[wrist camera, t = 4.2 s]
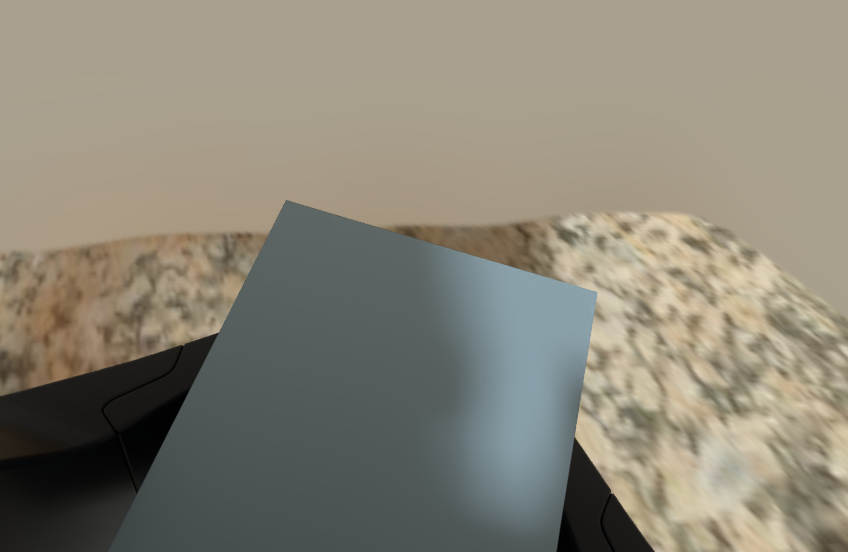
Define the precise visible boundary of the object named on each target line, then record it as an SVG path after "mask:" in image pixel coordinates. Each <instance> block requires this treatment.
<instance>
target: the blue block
mask: <svg viewBox="0 0 848 552" xmlns="http://www.w3.org/2000/svg"><path fill="white" fill-rule="evenodd" d="M596 298H597V292H595V291H591V290H588V289H585V288H581V287H578V286H574V285H571V284H568V283H564V282H561V281H558V280H554V279H551V278H547V277H544V276H541V275H537V274H534V273H530V272H527V271H524V270H520V269H517V268H514V267H510V266H507V265H503V264H500V263H497V262H493V261H490V260H487V259H483V258H480V257H476V256H473V255H470V254H466V253H463V252H460V251H456V250H453V249H449V248H446V247H443V246H439V245H436V244H433V243H429V242H426V241H422V240H419V239H416V238H412V237H409V236H405V235H402V234H399V233H395V232H392V231H389V230H385V229H382V228H378V227H375V226H372V225H368V224H365V223H361V222H358V221H355V220H351V219H348V218H344V217H341V216H338V215H334V214H331V213H327V212H324V211H321V210H317V209H314V208H311V207H308V206H304V205H301V204H297V203H294V202H291V201H287V200H286V202H285V203H284V205H283V208H282V209H281V211H280V213H279V215H278V217H277V219H276V221H275V223H274V225H273V227H272V229H271V231H270V233H269V235H268V237H267V239H266V241H265V243H264V245H263V247H262V249H261V251H260V253H259V255H258V257H257V259H256V261H255V263H254V265H253V267H252V269H251V270H250V272H249V274H248V276H247V278H246V280H245V282H244V284H243V286H242V288H241V290H240V292H239V294H238V296H237V298H236V300H235V302H234V304H233V306H232V308H231V310H230V312H229V314H228V316H227V318H226V320H225V322H224V324H223V326H222V328H221V330H220V332H219V334H218V336H217V338H216V340H215V342H214V344H213V345H212V347H211V349H210V351H209V353H208V355H207V357H206V359H205V361H204V363H203V365H202V367H201V369H200V371H199V373H198V375H197V377H196V379H195V381H194V383H193V385H192V387H191V389H190V391H189V393H188V395H187V397H186V399H185V401H184V403H183V405H182V407H181V409H180V411H179V413H178V415H177V417H176V419H175V420H174V422H173V424H172V426H171V428H170V430H169V432H168V434H167V436H166V438H165V440H164V442H163V444H162V446H161V448H160V450H159V452H158V454H157V456H156V458H155V460H154V462H153V464H152V466H151V468H150V470H149V472H148V474H147V476H146V478H145V480H144V482H143V484H142V486H141V488H140V490H139V492H138V494H137V495H136V497H135V499H134V501H133V503H132V505H131V507H130V509H129V511H128V513H127V515H126V517H125V519H124V521H123V523H122V525H121V527H120V529H119V531H118V533H117V535H116V537H115V539H114V541H113V543H112V545H111V547H110V549H109V551H108V552H556V550H557V544H558V537H559V531H560V525H561V519H562V512H563V506H564V500H565V493H566V487H567V481H568V474H569V468H570V462H571V456H572V449H573V443H574V437H575V430H576V424H577V418H578V411H579V405H580V399H581V393H582V386H583V380H584V374H585V367H586V361H587V355H588V348H589V342H590V336H591V330H592V323H593V317H594V311H595V304H596Z"/></svg>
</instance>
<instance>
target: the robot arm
mask: <svg viewBox="0 0 848 552" xmlns="http://www.w3.org/2000/svg"><path fill="white" fill-rule="evenodd" d="M218 334H219V333H216V334H213V335H210V336H207V337H204V338H201V339H198V340H195V341H192V342H189V343H186V344H185V345H184V346H183V345H180V346H177V347H174V348H171V349H168V350H165V351H162V352H159V353H155V354H152V355H149V356H146V357H143V358H140V359H136V360H133V361H130V362H126V363H122V364H119V365H115V366H112V367H108V368H105V369H101V370H98V371H94V372H90V373H86V374H83V375H79V376H75V377H72V378H68V379H64V380H60V381H57V382H53V383H49V384H45V385H42V386H38V387H34V388H31V389H27V390H23V391H19V392H16V393H12V394H8V395H3V396H0V552H108V551H109V549H110V547H111V545H112V543H113V541H114V539H115V537H116V535H117V533H118V531H119V529H120V527H121V525H122V523H123V521H124V519H125V517H126V515H127V513H128V511H129V509H130V507H131V505H132V503H133V501H134V499H135V497H136V495H137V494H138V492H139V490H140V488H141V486H142V484H143V482H144V480H145V478H146V476H147V474H148V472H149V470H150V468H151V466H152V464H153V462H154V460H155V458H156V456H157V454H158V452H159V450H160V448H161V446H162V444H163V442H164V440H165V438H166V436H167V434H168V432H169V430H170V428H171V426H172V424H173V422H174V420H175V419H176V417H177V415H178V413H179V411H180V409H181V407H182V405H183V403H184V401H185V399H186V397H187V395H188V393H189V391H190V389H191V387H192V385H193V383H194V381H195V379H196V377H197V375H198V373H199V371H200V369H201V367H202V365H203V363H204V361H205V359H206V357H207V355H208V353H209V351H210V349H211V347H212V345H213V344H214V342H215V340H216V338H217V336H218ZM610 493H611V489H610V488H609V486H608V485H607V483H606V482H605V480H604V479H603V478H602V476H601V475H600V473H599V472H598V470H597V469H596V467H595V466H594V464H593V463H592V461H591V460H590V459H589V457H588V456H587V454H586V453H585V451H584V450H583V448H582V447H581V445H580V444H579V442H578V441H577V440H576V438H575V437H574V443H573V449H572V456H571V462H570V468H569V474H568V481H567V487H566V493H565V500H564V506H563V512H562V519H561V525H560V531H559V537H558V544H557V550H556V552H655V551H654V550H653V549H652V547H651V546H650V545H649V543H648V542H647V541H646V539H645V538H644V536H643V535H642V534H641V532H640V531H639V529H638V528H637V527H636V525H635V524H634V522H633V521H632V519H631V518H630V517H629V515H628V514H627V512H626V511H625V510H624V508H623V507H622V505H621V504H620V502H619V501H618V499H617V498H616V496H615V495H614V494H612V493H611V494H610Z"/></svg>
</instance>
